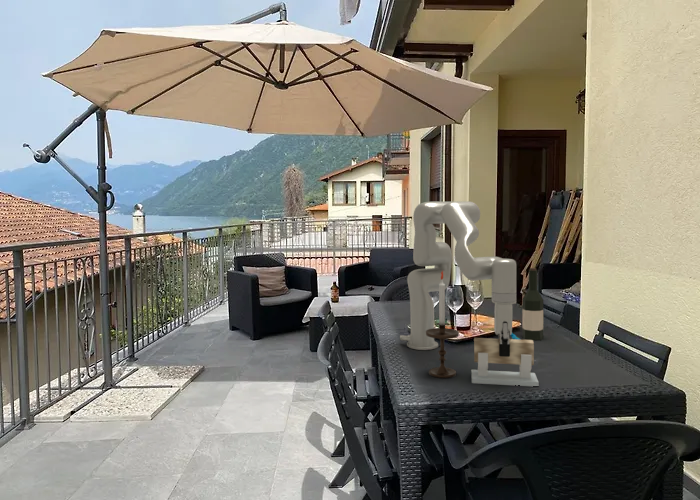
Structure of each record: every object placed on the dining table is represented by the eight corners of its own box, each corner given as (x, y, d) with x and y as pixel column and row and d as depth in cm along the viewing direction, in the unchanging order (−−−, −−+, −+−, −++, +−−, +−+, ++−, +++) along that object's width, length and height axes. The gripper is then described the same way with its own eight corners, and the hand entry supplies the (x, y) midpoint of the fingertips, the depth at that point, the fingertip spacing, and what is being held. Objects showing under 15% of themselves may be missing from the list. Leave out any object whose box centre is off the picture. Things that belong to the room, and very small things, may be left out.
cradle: (471, 383, 157) (471, 353, 156) (471, 374, 165) (471, 346, 165) (538, 386, 152) (538, 356, 152) (534, 377, 161) (534, 348, 160)
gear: (529, 350, 186) (510, 330, 189) (517, 361, 187) (498, 341, 190) (529, 347, 196) (511, 328, 199) (518, 357, 198) (500, 338, 200)
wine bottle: (521, 339, 208) (522, 269, 206) (522, 335, 216) (523, 267, 214) (542, 341, 205) (543, 269, 203) (543, 336, 213) (543, 267, 211)
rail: (474, 362, 159) (474, 340, 158) (474, 358, 163) (474, 337, 162) (533, 365, 154) (533, 343, 154) (532, 361, 158) (532, 340, 158)
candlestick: (436, 366, 174) (435, 268, 171) (464, 372, 167) (464, 269, 165) (420, 375, 166) (419, 271, 163) (449, 381, 159) (448, 273, 156)
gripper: (490, 293, 166) (490, 347, 167) (493, 302, 150) (493, 361, 151) (513, 293, 164) (513, 347, 165) (519, 302, 148) (518, 362, 149)
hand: (503, 353), depth 158 cm, fingers closed on rail, 3 cm apart
